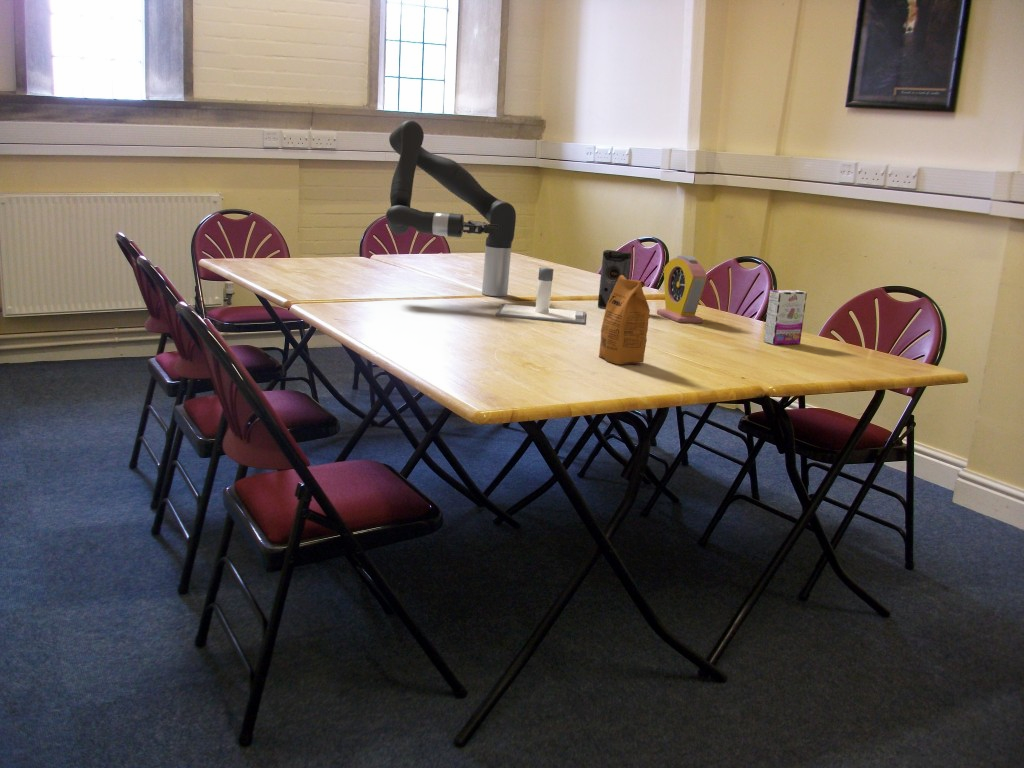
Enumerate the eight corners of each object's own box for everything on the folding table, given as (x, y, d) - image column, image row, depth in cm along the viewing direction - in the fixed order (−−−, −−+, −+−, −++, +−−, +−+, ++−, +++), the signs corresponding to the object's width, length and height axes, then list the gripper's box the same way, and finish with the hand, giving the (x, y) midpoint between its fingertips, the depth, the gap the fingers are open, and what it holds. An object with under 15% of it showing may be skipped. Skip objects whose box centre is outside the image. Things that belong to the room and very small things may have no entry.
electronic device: (596, 307, 342) (602, 250, 337) (601, 305, 347) (607, 249, 343) (621, 311, 339) (628, 253, 334) (626, 309, 344) (632, 252, 339)
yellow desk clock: (652, 312, 342) (659, 250, 337) (676, 313, 345) (683, 252, 340) (682, 324, 322) (690, 259, 317) (707, 325, 325) (715, 260, 320)
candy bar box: (789, 341, 308) (796, 289, 304) (800, 344, 303) (808, 292, 299) (761, 341, 302) (769, 289, 299) (772, 345, 298) (780, 291, 294)
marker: (535, 310, 320) (539, 267, 317) (549, 311, 320) (553, 268, 317) (534, 312, 316) (539, 268, 312) (548, 314, 316) (553, 270, 312)
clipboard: (502, 305, 330) (502, 300, 329) (585, 313, 328) (585, 308, 328) (495, 315, 308) (496, 310, 308) (584, 324, 307) (585, 319, 306)
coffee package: (626, 355, 264) (635, 274, 259) (648, 366, 253) (658, 281, 248) (592, 355, 260) (601, 273, 255) (613, 366, 249) (623, 280, 244)
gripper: (445, 214, 310) (496, 219, 309) (451, 211, 324) (500, 216, 323) (444, 238, 312) (494, 243, 311) (450, 234, 326) (498, 239, 325)
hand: (497, 229), depth 317 cm, fingers open, 8 cm apart
